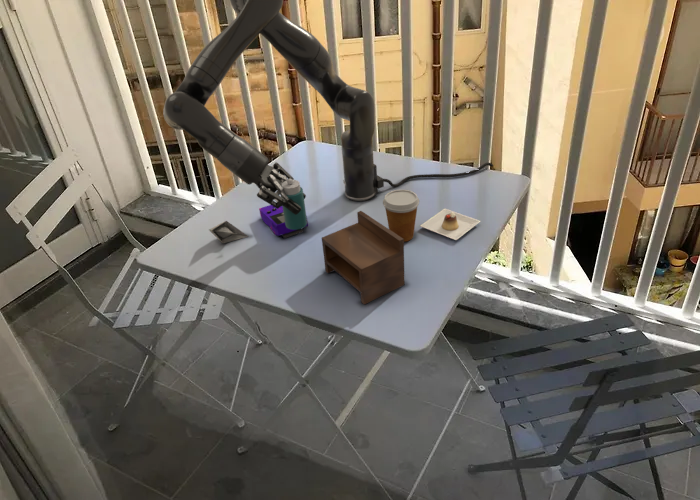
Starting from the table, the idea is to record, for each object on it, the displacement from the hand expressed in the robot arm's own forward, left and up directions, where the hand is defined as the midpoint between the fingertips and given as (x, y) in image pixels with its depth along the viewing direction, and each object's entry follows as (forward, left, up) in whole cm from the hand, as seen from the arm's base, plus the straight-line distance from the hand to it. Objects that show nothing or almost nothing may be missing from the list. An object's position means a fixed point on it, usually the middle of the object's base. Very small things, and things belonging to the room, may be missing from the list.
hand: (301, 205), depth 131 cm
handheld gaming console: (-6, -26, -20) cm, 33 cm away
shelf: (-9, +11, -20) cm, 24 cm away
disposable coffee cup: (-28, +2, -20) cm, 35 cm away
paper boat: (+11, -27, -20) cm, 36 cm away
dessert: (-41, +7, -20) cm, 46 cm away
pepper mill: (+1, -1, -5) cm, 6 cm away
